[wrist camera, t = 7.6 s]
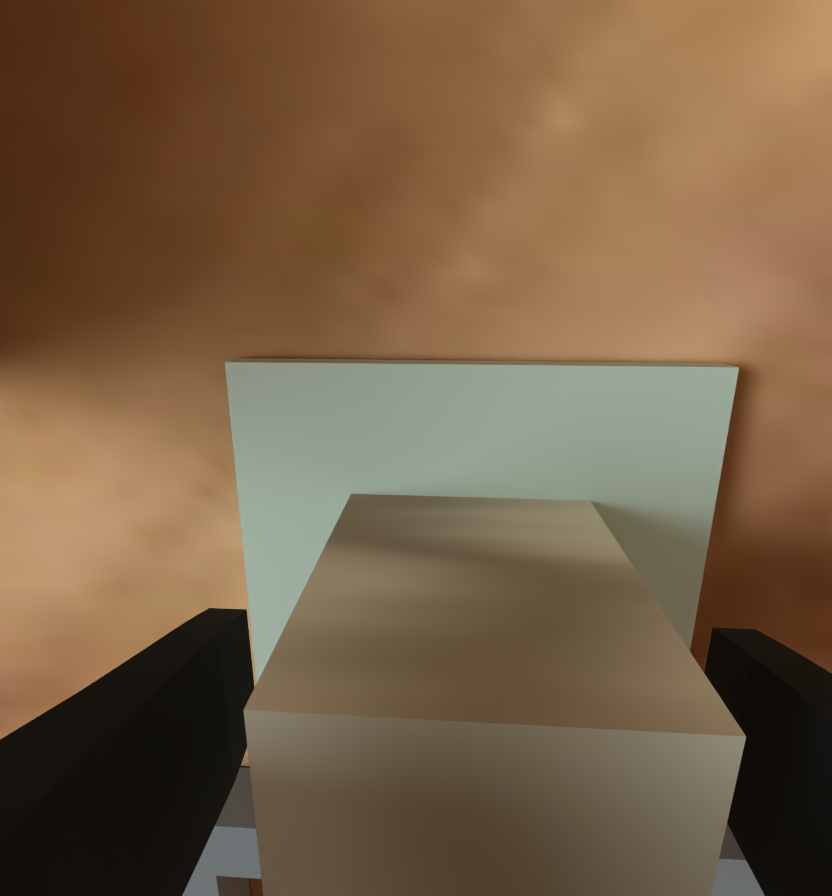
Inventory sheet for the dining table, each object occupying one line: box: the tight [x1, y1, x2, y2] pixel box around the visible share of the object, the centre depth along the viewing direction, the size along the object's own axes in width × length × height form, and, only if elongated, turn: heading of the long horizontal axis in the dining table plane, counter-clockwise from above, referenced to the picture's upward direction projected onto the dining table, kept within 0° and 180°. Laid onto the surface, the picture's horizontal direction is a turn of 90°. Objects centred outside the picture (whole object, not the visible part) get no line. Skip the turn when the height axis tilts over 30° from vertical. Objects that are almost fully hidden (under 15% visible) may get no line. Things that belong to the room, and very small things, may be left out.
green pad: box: [225, 358, 739, 683], centre depth 11 cm, size 9×9×1 cm
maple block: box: [244, 494, 746, 896], centre depth 8 cm, size 4×4×6 cm
